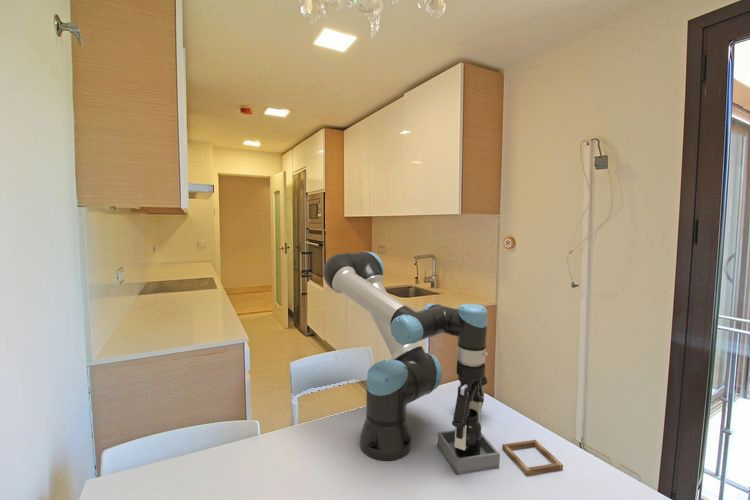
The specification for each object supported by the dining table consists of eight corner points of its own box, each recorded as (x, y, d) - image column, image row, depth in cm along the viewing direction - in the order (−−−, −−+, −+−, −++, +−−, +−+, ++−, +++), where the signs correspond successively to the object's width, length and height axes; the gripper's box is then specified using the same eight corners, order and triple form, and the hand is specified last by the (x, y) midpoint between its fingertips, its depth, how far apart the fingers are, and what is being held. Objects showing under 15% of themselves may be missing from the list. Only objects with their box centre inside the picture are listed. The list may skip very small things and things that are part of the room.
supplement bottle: (451, 454, 99) (452, 413, 97) (460, 442, 104) (461, 403, 103) (475, 464, 95) (477, 422, 94) (483, 451, 100) (485, 410, 99)
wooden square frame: (502, 449, 103) (502, 444, 102) (535, 444, 105) (535, 439, 105) (526, 476, 92) (527, 470, 92) (562, 470, 95) (563, 464, 94)
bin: (437, 445, 104) (437, 432, 104) (475, 439, 107) (476, 427, 107) (456, 474, 92) (457, 460, 92) (499, 467, 95) (499, 453, 95)
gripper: (471, 382, 85) (467, 465, 86) (495, 350, 106) (492, 418, 108) (441, 374, 88) (438, 454, 90) (470, 345, 110) (467, 410, 111)
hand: (467, 435), depth 99 cm, fingers open, 13 cm apart
